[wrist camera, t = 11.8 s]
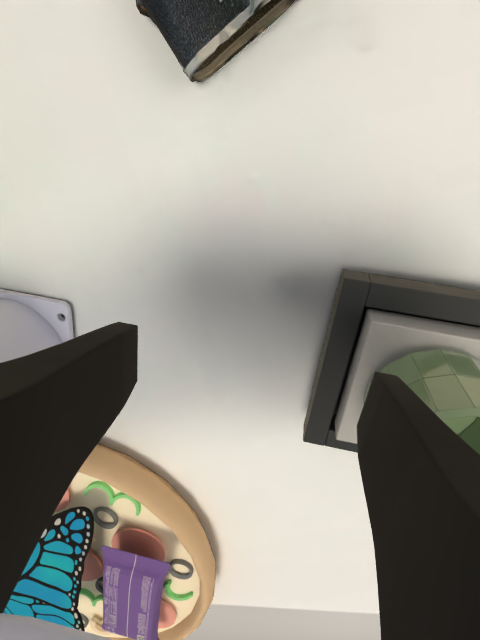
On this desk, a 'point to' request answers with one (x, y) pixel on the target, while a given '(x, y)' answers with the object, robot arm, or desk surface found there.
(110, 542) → the toy pizza
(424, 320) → the button plate
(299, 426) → the desk surface
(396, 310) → the black square base
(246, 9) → the camera
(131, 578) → the snack package
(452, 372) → the bowl
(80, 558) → the butterfly
